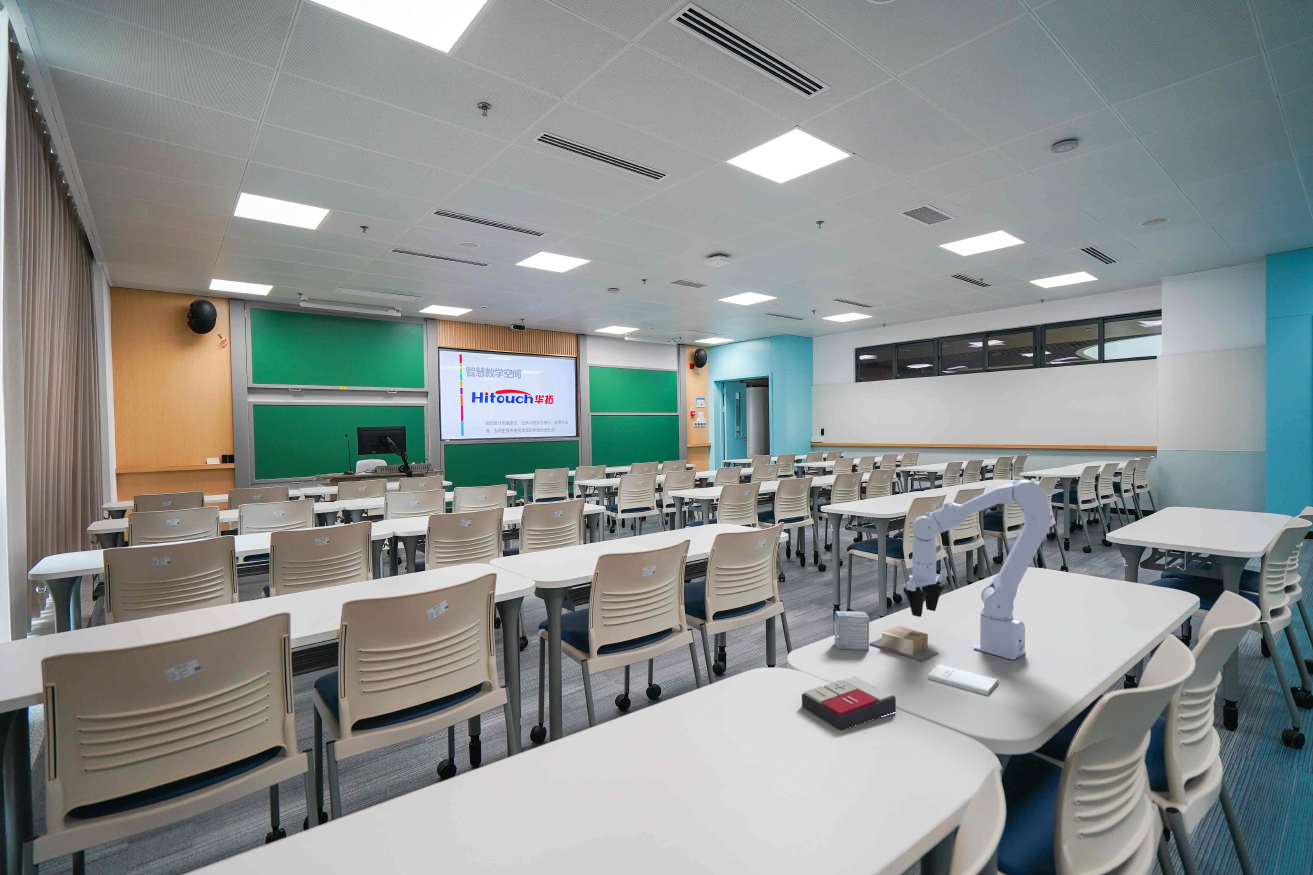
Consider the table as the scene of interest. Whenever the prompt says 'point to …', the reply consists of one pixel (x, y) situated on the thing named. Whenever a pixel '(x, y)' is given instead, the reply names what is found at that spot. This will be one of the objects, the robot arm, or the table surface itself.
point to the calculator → (848, 702)
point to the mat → (917, 656)
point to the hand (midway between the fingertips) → (924, 612)
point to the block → (905, 640)
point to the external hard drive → (963, 679)
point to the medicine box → (852, 630)
